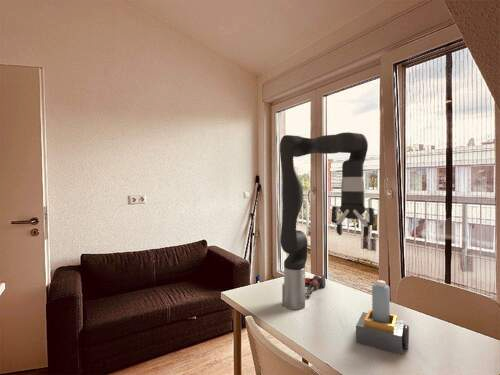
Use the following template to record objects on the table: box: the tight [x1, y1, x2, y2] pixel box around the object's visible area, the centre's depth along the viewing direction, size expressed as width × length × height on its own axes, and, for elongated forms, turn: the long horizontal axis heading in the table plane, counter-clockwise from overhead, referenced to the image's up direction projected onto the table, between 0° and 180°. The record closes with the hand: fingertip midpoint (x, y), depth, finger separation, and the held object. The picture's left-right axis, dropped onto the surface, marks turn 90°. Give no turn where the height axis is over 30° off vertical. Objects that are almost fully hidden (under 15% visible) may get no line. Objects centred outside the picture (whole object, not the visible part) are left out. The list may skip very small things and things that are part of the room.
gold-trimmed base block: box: [355, 309, 410, 356], centre depth 102 cm, size 16×12×8 cm
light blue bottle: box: [371, 279, 391, 324], centre depth 102 cm, size 6×6×15 cm
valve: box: [305, 274, 326, 299], centre depth 152 cm, size 6×26×15 cm
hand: (352, 235), depth 104 cm, fingers open, 8 cm apart
